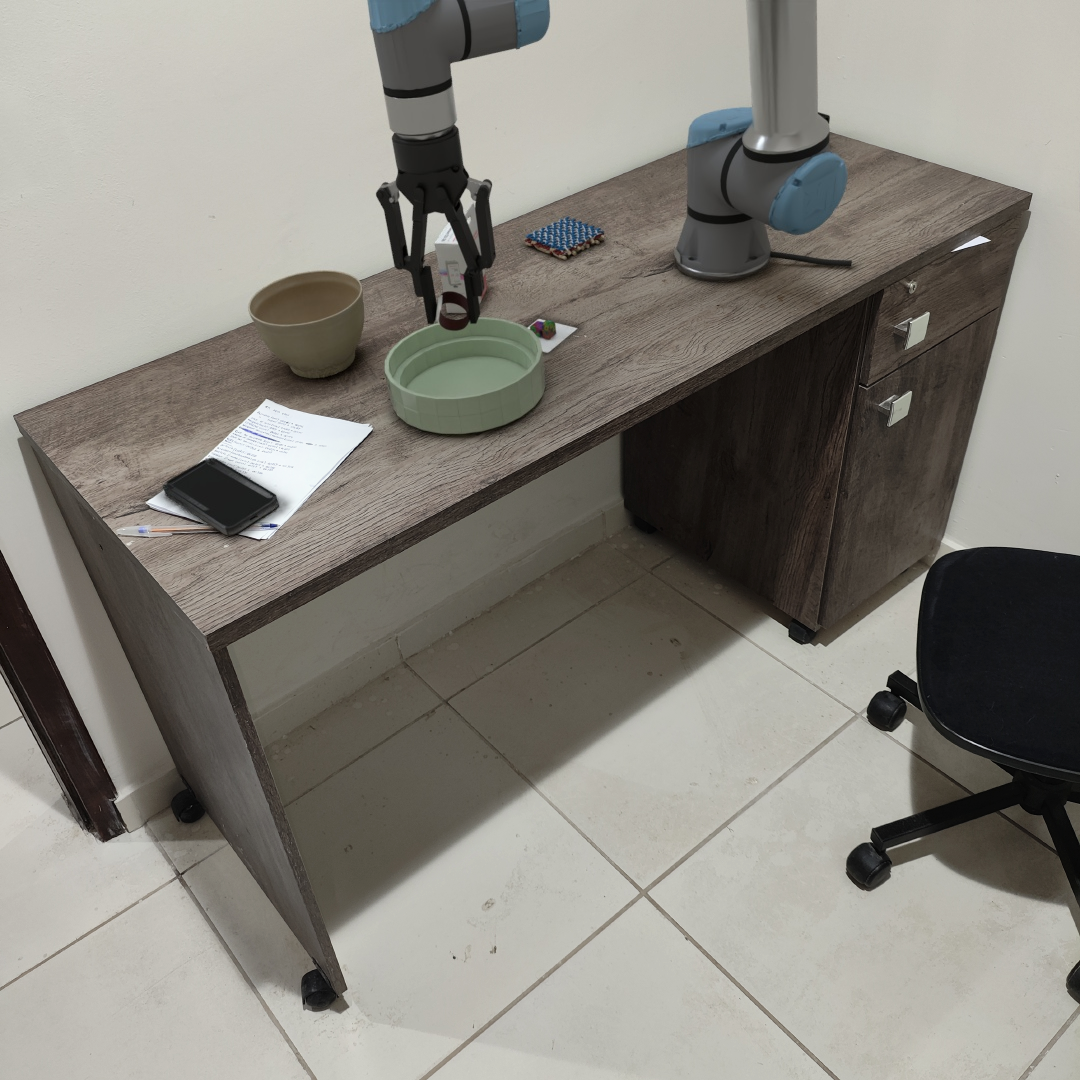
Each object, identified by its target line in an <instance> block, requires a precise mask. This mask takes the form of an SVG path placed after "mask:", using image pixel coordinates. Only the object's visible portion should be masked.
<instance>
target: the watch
mask: <svg viewBox="0 0 1080 1080" xmlns="http://www.w3.org/2000/svg"><path fill="white" fill-rule="evenodd" d="M436 302H437V308H436V320H435V323H440V325H441V326H442V327H443V328H445V329H447V330H450V331H458V330H462V329H464V328H465V327H466V326H467V325H468V323H469V322H470V318H469V311H468V304H467V298H466V297H465V296H463V295H461V294H459V293H457V292H453V291H447V292H444V293H443V292H442V293H441V294H440V295H438V296H437V299H436ZM445 303H453V304H456V305H459V306H461V307H462V308H463V309H465V311H466V312H467V313H466V316H464V317H462V319H460V318H454V319H453V318H449V317H446V316H444V315H443V313H442V308H443V305H444V304H445ZM445 305H446V304H445Z"/></svg>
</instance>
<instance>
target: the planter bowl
mask: <svg viewBox="0 0 1080 1080" xmlns="http://www.w3.org/2000/svg"><path fill="white" fill-rule="evenodd" d="M247 312H248V314H249V316H250V318H251V320H252V322H254V325H255V329H256V330H257V333H258V334H259V337H260V338H261V340H262V341H263V344H264V345H265V346H266V347H267V348H268V350H270V352H272V354H273V355H274V356H276V358H278V359H279V360H280V361H282V362H283V363H284V364H286V365H288V366H289V367H290V370H291V371H292V372H293V373H294V374H295V375H296V376H299V377H302V378H306V379H323V378H327V377H331V376H334V375H336V374H340V373H341V372H343V371H344V370H346V369H347V368H349V367H350V366H351V365H352V364H353V362H354V361H355V358H356V357H355V356H356V352H355V351H356V349H357V347H358V345H359V343H360V341H361V339H362V333H363V329H364V324H365V304H364V289H363V286H362V282H361V281H360V280H359V279H358V277H355V276H354V275H352V274H349V273H347V272H344V271H338V270H329V269H328V270H326V269H325V270H324V269H323V270H322V269H320V270H310V271H309V270H307V271H304V272H297V273H294V274H291V275H287V276H284V277H281V278H278V279H276V280H274V281H272V282H270V283H269V284H267V285H265V286H264V287H262V288H260V289H259V290H258V291H256V293H254V294H253V295H252V297H251V298H250V300H249V302H248V305H247Z"/></svg>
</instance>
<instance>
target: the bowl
mask: <svg viewBox="0 0 1080 1080" xmlns="http://www.w3.org/2000/svg"><path fill="white" fill-rule="evenodd" d="M462 318H463V317H462ZM462 318H460V317H459V319H462ZM384 377H385V380H386V384H387V385H386V386H387V389H388V393H389V398H390V402H391V403H390V404H391V406H392V408H393V410H394V412H395V414H396V416H398V417H399V418H400V419H401V420H402V421H403V422H404V423H406V424H408V425H409V426H412V427H414V428H417V429H419V430H422V431H426V432H430V433H436V434H442V435H443V434H446V435H448V434H449V435H464V434H471V433H479V432H485V431H488V430H491V429H495V428H498V427H502V426H505V425H507V424H509V423H512V422H514V421H515V420H517V419H520V418H521V417H523V416H524V415H525V414H527V413H528V412H530V411H531V410H532V409H533V408H535V407H536V405H537V404H538V403H539V402H540V400H541V399H542V397H543V396H544V393H545V388H546V385H547V384H546V383H547V381H546V373H545V362H544V352H543V351H542V346H541V342H540V339H539V338H538V337H537V336H536V335H535V333H534V332H533V331H531V330H530V329H528V327H526V326H525V325H523V324H521V323H518V322H515V321H512V320H509V319H506V318H505V319H504V318H498V317H497V318H496V317H490V316H479V318H478V321H477V323H476V324H470V322H469V323H468V325H467V326H466V327H465V328H464V329H462V330H458V331H450V330H447V329H445V328H443V327H442V326H441V325H440V323H438V322H435V323H434V324H428V325H427V326H425V327H423V328H420V329H417V330H415V331H413V332H411V333H410V334H408V335H407V336H405V337H404V338H402V339H400V340H399V341H398V342H397V343H396V344H395V345H394V346H393V347H392V348H391V349H390V350H389V352H388V354H387V356H386V357H385V359H384Z"/></svg>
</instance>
